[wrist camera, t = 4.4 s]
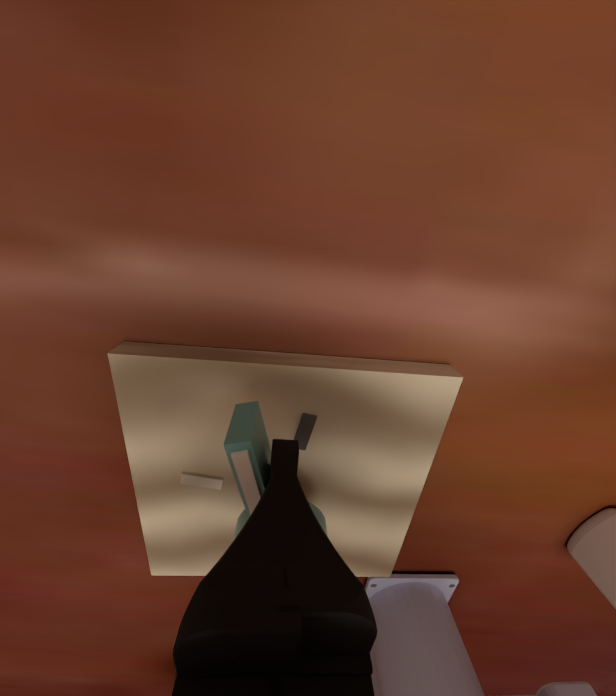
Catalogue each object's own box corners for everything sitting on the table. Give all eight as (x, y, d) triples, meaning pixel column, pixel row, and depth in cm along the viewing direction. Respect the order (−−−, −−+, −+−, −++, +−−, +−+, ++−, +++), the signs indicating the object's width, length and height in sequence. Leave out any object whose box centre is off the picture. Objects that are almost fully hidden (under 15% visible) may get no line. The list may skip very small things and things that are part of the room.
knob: (330, 548, 17) (336, 602, 15) (247, 560, 17) (240, 615, 15) (303, 394, 13) (305, 435, 10) (191, 410, 13) (167, 456, 10)
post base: (384, 556, 24) (398, 608, 21) (160, 553, 23) (138, 609, 19) (449, 364, 17) (485, 398, 14) (124, 341, 15) (79, 373, 12)
